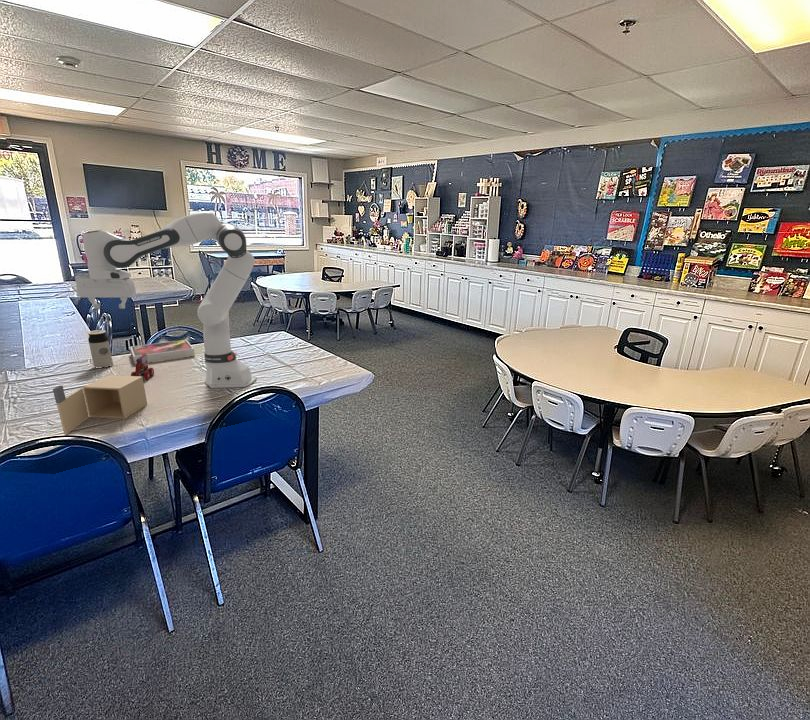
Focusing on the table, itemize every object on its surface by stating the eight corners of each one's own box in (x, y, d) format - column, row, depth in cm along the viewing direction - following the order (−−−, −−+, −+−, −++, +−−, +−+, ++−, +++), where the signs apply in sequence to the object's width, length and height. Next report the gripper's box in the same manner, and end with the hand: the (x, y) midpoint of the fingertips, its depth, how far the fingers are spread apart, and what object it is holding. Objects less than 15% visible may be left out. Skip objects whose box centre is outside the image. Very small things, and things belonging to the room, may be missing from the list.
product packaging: (131, 355, 234) (130, 346, 232) (187, 347, 249) (186, 339, 248) (135, 365, 217) (133, 356, 215) (194, 357, 233) (193, 348, 231)
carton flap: (67, 434, 145) (56, 389, 140) (63, 434, 145) (52, 389, 140) (89, 417, 158) (80, 375, 153) (86, 417, 158) (76, 375, 153)
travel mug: (93, 365, 214) (85, 331, 209) (111, 362, 219) (105, 329, 214) (95, 369, 209) (87, 334, 203) (114, 366, 214) (107, 332, 208)
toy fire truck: (129, 383, 193) (125, 361, 190) (140, 374, 204) (136, 353, 201) (146, 382, 194) (142, 360, 191) (156, 373, 206) (152, 353, 203)
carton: (147, 404, 171) (142, 376, 167) (125, 418, 158) (119, 388, 155) (114, 403, 171) (108, 375, 168) (89, 416, 159) (82, 387, 155)
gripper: (68, 274, 160) (76, 310, 164) (126, 274, 163) (132, 310, 167) (79, 272, 166) (86, 307, 170) (134, 272, 169) (140, 307, 173)
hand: (109, 308), depth 169 cm, fingers open, 8 cm apart
